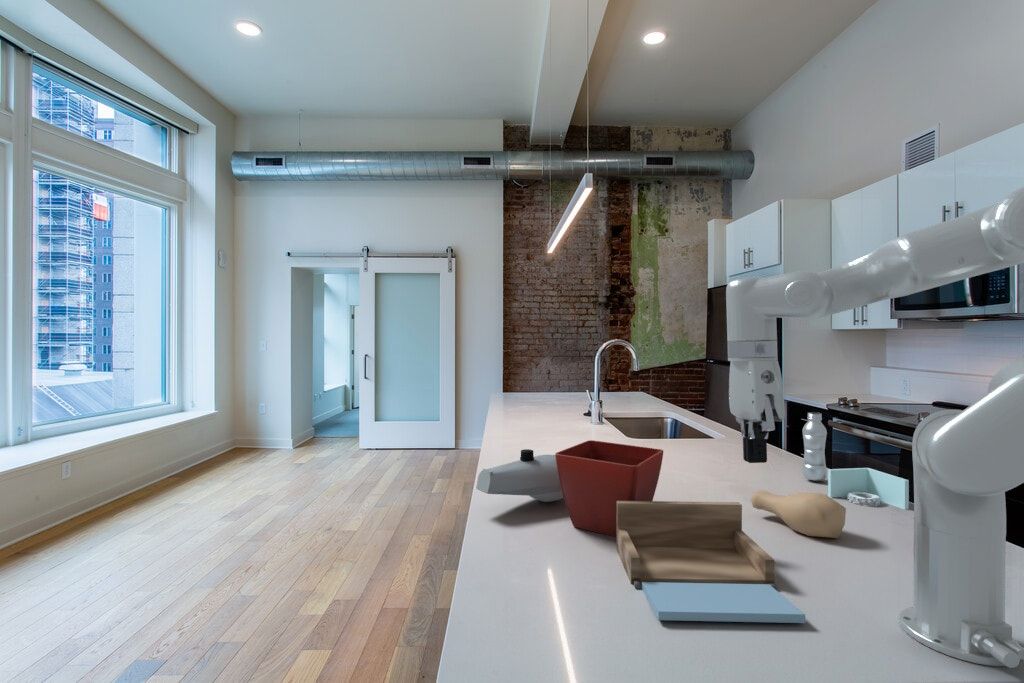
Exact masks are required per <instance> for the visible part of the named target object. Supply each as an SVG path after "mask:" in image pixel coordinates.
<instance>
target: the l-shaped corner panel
mask: <svg viewBox="0 0 1024 683" xmlns="http://www.w3.org/2000/svg"><path fill="white" fill-rule="evenodd" d="M909 482H910V481H909V479H905V478H903V477H898V476H896V475H892V474H889V473H886V472H883V471H879V470H877V469H875V468H874V469H873V468H870V467H854V468H832V469H831V468H827V489H828V490H827V491H828V492H827V496H829V497H842V498H847V500H848V499H849V500H848V502H849V503H852V504H853V505H859V506H860V505H861V506H864V507H878V506H880V502H882V503H885V504H887V505H888V504H889V505H891V506H894V507H896V508H899V509H902V510H906V511H907V510H910V509H909V506H910V502H909V501H910V500H909V499H910V495H909V492H910V489H909V488H910V485H909V484H910V483H909Z"/></svg>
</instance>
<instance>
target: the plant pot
mask: <svg viewBox="0 0 1024 683" xmlns="http://www.w3.org/2000/svg"><path fill="white" fill-rule="evenodd" d="M554 455H555V456H556V464H557V470H558V476H559V481H560V485H561V489H562V493H563V497H564V498H563V500H564V503H565V506H566V510H567V513H568V516H569V519H570V522H571V524H572V525H573V527H575V528H578V529H581V530H585V531H590V532H593V533H598V534H602V535H606V536H609V537H614V538H616V505H617V501H654V496H655V494H656V491H657V490H656V489H657V486H658V483H659V477H660V474H661V469H662V464H663V458H664V449H661V448H654V447H645V446H639V445H638V446H637V445H631V444H622V443H615V442H610V441H609V442H608V441H600V440H592V439H591V440H586V441H583V442H580V443H578V444H576V445H574V446H571V447H570V446H569V447H568V448H565V449H563V450H560V451H557V452H556V453H555V454H554Z"/></svg>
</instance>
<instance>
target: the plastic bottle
mask: <svg viewBox="0 0 1024 683" xmlns="http://www.w3.org/2000/svg"><path fill="white" fill-rule="evenodd" d="M822 415H823V414H822V413H820V412H807V421H806V423H805V424H804V426H803V428H802V429H801V430H802V439H803V450H804V451H803V452H804V454H803V463H802V468H801V470H802V472H801V473H802V475H803V477H804V478H805V479H807V480H810V481H815V482H817V481H818V482H820V481H821V482H822V481H825V480H826V478H828V468H827V465H826V455H825V452H826V451H825V449H826V442H827V435H828V432H827V428H826V426H825V425H824V424H823V422H822V420H823V417H822Z"/></svg>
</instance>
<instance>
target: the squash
mask: <svg viewBox="0 0 1024 683" xmlns="http://www.w3.org/2000/svg"><path fill="white" fill-rule="evenodd" d="M750 501H751V505H752V508H754V509H756V510H763V511H765V512H768V513H771V514H773V515H775V516H777V517H778V518H780V519H782V521H783V522H784V523H785V524H786V525H787V526H788V527H789V528H790V529H791V530H793V531H796V532H798V533H801V534H802V535H803V534H804V535H806V536H808V537H819V538H830V539H840V536H841V534H842V532H843V529H844V527H845V525H846V514H847V513H846V511H847V510H846V509H847V508H846V507H845V506H843V505H841V503H839V502H838V501H836V500H835V499H834V498H830V497H829V496H828V494H825V493H821V492H801V493H800V492H798V493H793V494H789V495H778V494H773V493H771V492H768V491H765V490H759V489H758V490H756V491H754V492H753V493H752V495H751V498H750Z"/></svg>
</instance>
